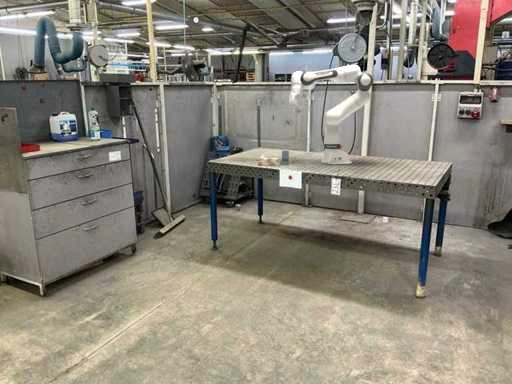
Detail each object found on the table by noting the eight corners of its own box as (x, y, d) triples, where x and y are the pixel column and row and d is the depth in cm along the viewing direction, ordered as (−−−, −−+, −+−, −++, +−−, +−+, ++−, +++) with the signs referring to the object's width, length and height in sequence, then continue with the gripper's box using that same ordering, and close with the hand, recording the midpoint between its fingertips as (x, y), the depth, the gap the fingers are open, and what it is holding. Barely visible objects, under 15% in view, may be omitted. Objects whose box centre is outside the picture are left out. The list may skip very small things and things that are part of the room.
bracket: (288, 162, 295) (288, 150, 293) (288, 164, 287) (288, 152, 285) (281, 162, 296) (282, 150, 293) (281, 164, 288) (281, 152, 286)
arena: (279, 162, 296) (280, 155, 295) (279, 165, 283) (279, 158, 281) (261, 162, 297) (261, 155, 296) (259, 165, 284) (259, 158, 283)
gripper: (295, 89, 281) (294, 108, 281) (305, 96, 299) (305, 115, 299) (287, 90, 284) (286, 109, 284) (298, 97, 302) (297, 115, 302)
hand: (296, 112), depth 291 cm, fingers open, 8 cm apart
